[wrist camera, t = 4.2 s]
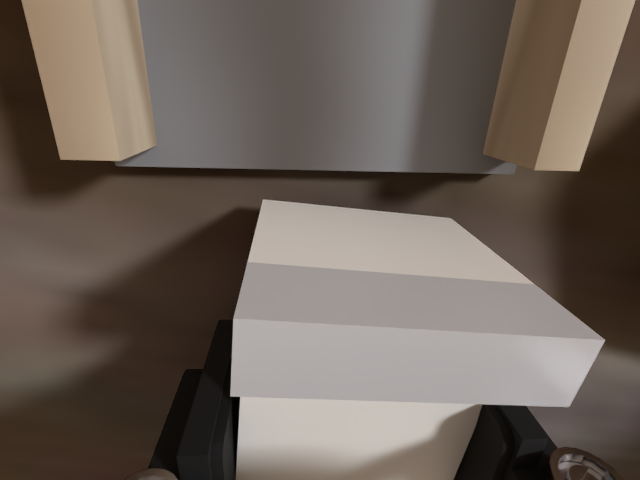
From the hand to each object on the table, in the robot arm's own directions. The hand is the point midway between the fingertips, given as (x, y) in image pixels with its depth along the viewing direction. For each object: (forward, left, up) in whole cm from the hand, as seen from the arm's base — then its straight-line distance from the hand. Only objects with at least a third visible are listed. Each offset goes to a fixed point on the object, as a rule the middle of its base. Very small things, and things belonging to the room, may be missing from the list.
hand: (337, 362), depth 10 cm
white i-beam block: (0, 0, -1) cm, 1 cm away
